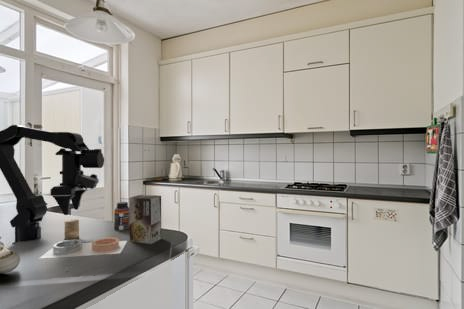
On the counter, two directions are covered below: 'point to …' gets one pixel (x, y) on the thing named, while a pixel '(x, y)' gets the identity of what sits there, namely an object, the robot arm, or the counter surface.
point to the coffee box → (145, 218)
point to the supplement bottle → (121, 217)
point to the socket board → (85, 251)
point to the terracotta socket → (105, 244)
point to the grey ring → (67, 247)
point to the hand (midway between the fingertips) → (71, 212)
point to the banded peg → (71, 229)
